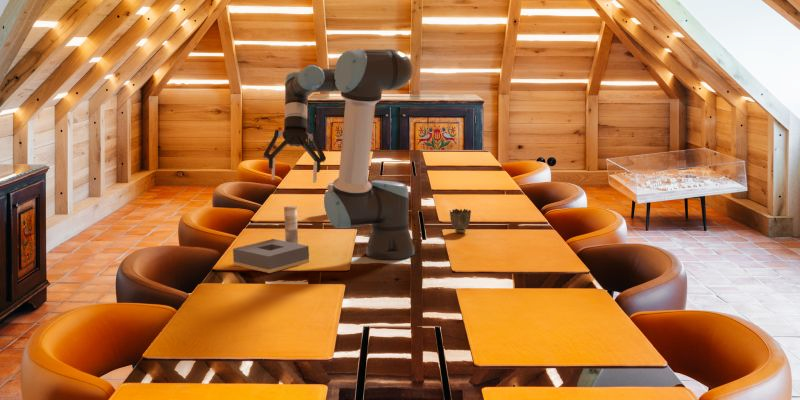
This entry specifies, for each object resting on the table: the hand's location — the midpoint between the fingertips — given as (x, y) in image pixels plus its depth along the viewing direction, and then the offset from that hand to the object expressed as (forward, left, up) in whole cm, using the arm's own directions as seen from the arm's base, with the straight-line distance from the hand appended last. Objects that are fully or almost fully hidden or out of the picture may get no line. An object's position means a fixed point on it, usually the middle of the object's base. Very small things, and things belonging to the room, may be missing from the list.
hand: (294, 180), depth 267 cm
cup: (-32, -48, -22) cm, 62 cm away
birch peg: (-2, +4, -22) cm, 22 cm away
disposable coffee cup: (+26, -48, -22) cm, 59 cm away
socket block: (-10, +20, -22) cm, 31 cm away
